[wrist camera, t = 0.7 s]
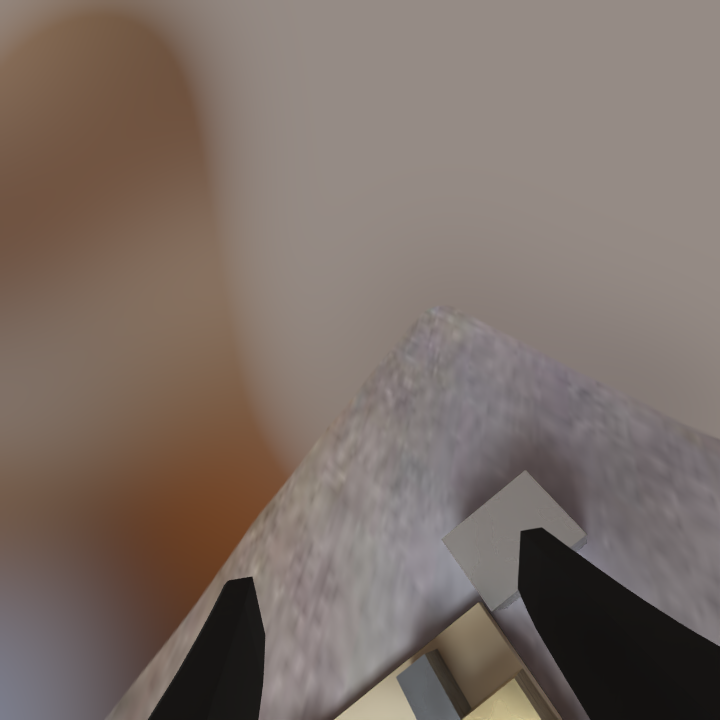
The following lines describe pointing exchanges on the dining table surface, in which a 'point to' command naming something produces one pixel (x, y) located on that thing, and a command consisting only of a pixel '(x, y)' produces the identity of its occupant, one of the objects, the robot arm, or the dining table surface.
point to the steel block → (507, 537)
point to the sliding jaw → (450, 707)
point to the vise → (452, 668)
